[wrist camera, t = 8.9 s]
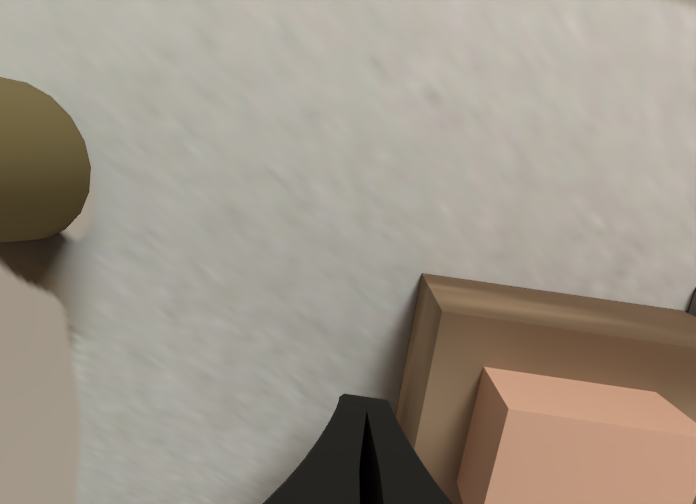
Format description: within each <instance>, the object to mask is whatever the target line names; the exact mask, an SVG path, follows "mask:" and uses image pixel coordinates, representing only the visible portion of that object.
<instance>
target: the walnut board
mask: <svg viewBox="0 0 696 504" xmlns="http://www.w3.org/2000/svg"><path fill="white" fill-rule="evenodd" d="M484 367H489V368H495V369H502V370H509V371H516V372H523V373H529V374H536V375H543V376H550V377H557V378H563V379H570V380H577V381H584V382H591V383H597V384H604V385H611V386H618V387H625V388H631V389H638V390H645V391H652V392H657V393H658V394H659V395H660V396H662V397H663V398H664V399H666V400H667V401H668V402H669V403H671V404H672V405H673V406H675V407H676V408H677V409H679V410H680V411H681V412H682V413H684V414H685V415H686V416H688V417H689V418H690V419H691V420H693V421H694V422H695V423H696V317H695V316H693V315H691V314H689V313H687V312H684V311H680V310H674V309H667V308H660V307H653V306H646V305H639V304H632V303H625V302H618V301H611V300H604V299H597V298H590V297H583V296H576V295H569V294H562V293H555V292H548V291H541V290H534V289H527V288H520V287H513V286H506V285H499V284H493V283H486V282H479V281H472V280H465V279H458V278H451V277H444V276H437V275H430V274H423V273H422V276H421V281H420V287H419V292H418V298H417V303H416V308H415V314H414V319H413V325H412V330H411V335H410V341H409V346H408V352H407V357H406V362H405V368H404V373H403V378H402V384H401V389H400V395H399V400H398V405H397V411H396V416H395V417H396V419H397V421H398V422H399V424H400V426H401V428H402V430H403V432H404V433H405V435H406V437H407V439H408V440H409V442H410V444H411V445H412V447H413V449H414V450H415V452H416V454H417V455H418V457H419V458H420V460H421V461H422V463H423V464H424V466H425V467H426V469H427V470H428V472H429V473H430V475H431V476H432V477H433V479H434V480H435V482H436V483H437V484H438V486H439V487H440V488H441V490H442V491H443V492H444V494H445V495H446V496H447V497H448V498H449V500H450V501H451V502H452V503H453V504H463V502H462V499H461V495H460V492H459V488H458V485H457V478H458V474H459V470H460V466H461V461H462V457H463V453H464V449H465V444H466V440H467V436H468V432H469V427H470V423H471V419H472V415H473V410H474V406H475V402H476V397H477V393H478V389H479V385H480V380H481V376H482V372H483V368H484ZM692 504H696V496H695V498H694V501H693V503H692Z"/></svg>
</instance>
